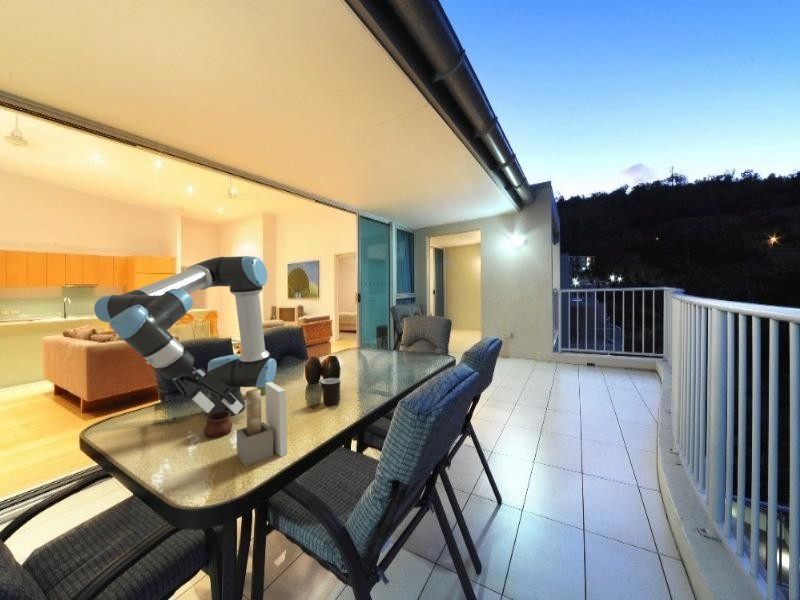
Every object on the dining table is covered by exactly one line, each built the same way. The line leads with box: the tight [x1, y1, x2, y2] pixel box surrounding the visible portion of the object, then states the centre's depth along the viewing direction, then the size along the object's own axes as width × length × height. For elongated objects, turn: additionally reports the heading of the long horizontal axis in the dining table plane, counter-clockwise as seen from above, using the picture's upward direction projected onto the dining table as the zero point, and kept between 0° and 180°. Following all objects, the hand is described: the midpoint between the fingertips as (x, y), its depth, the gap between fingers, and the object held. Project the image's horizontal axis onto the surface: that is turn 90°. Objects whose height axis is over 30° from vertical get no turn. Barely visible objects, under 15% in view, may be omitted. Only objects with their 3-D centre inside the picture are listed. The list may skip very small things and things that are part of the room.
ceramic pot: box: [203, 411, 242, 439], centre depth 109 cm, size 18×18×7 cm
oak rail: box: [245, 388, 262, 437], centre depth 94 cm, size 4×4×16 cm
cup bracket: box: [236, 382, 288, 467], centre depth 95 cm, size 12×12×20 cm
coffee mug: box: [320, 377, 342, 407], centre depth 139 cm, size 12×9×10 cm
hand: (224, 409), depth 89 cm, fingers open, 13 cm apart
